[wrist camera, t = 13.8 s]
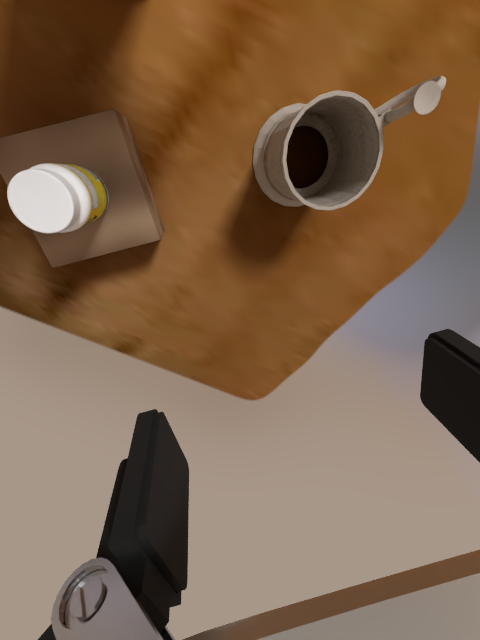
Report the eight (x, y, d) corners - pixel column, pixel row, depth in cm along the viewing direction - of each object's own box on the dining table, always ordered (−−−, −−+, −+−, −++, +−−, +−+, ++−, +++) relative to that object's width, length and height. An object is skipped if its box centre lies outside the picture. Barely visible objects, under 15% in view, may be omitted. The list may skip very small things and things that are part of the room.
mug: (279, 223, 36) (316, 246, 25) (235, 142, 31) (257, 128, 21) (389, 149, 34) (479, 140, 23) (358, 51, 29) (452, -15, 19)
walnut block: (15, 146, 29) (-17, 142, 24) (126, 118, 29) (113, 108, 25) (70, 255, 34) (52, 268, 30) (164, 230, 34) (160, 239, 30)
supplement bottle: (65, 224, 28) (19, 244, 20) (43, 168, 26) (-18, 168, 18) (117, 216, 28) (89, 233, 21) (99, 160, 26) (62, 157, 19)
